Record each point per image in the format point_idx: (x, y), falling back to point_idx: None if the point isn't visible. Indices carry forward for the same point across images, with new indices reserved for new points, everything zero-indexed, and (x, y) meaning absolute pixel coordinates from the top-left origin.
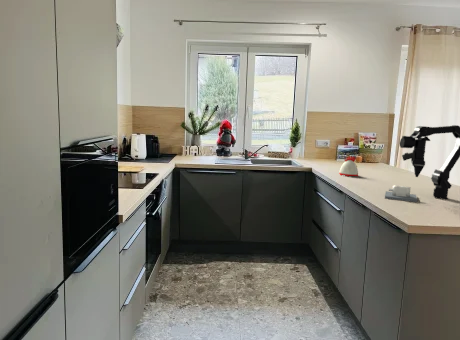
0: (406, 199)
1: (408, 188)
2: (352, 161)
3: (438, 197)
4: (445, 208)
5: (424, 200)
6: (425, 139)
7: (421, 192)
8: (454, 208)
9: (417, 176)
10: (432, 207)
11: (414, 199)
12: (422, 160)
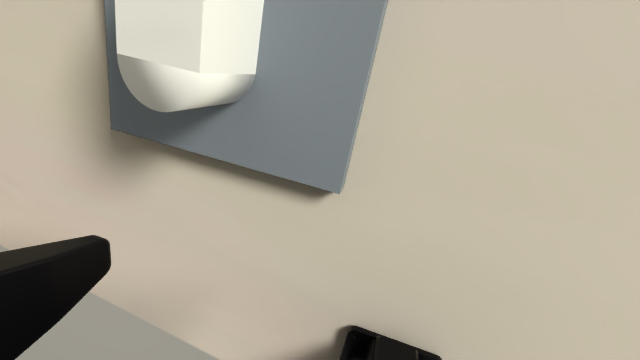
0: (112, 45)
1: (127, 76)
2: None
3: (343, 347)
4: None
5: (218, 205)
6: None
7: (625, 333)
8: (91, 289)
9: (84, 267)
10: (38, 176)
11: (113, 109)
12: None
